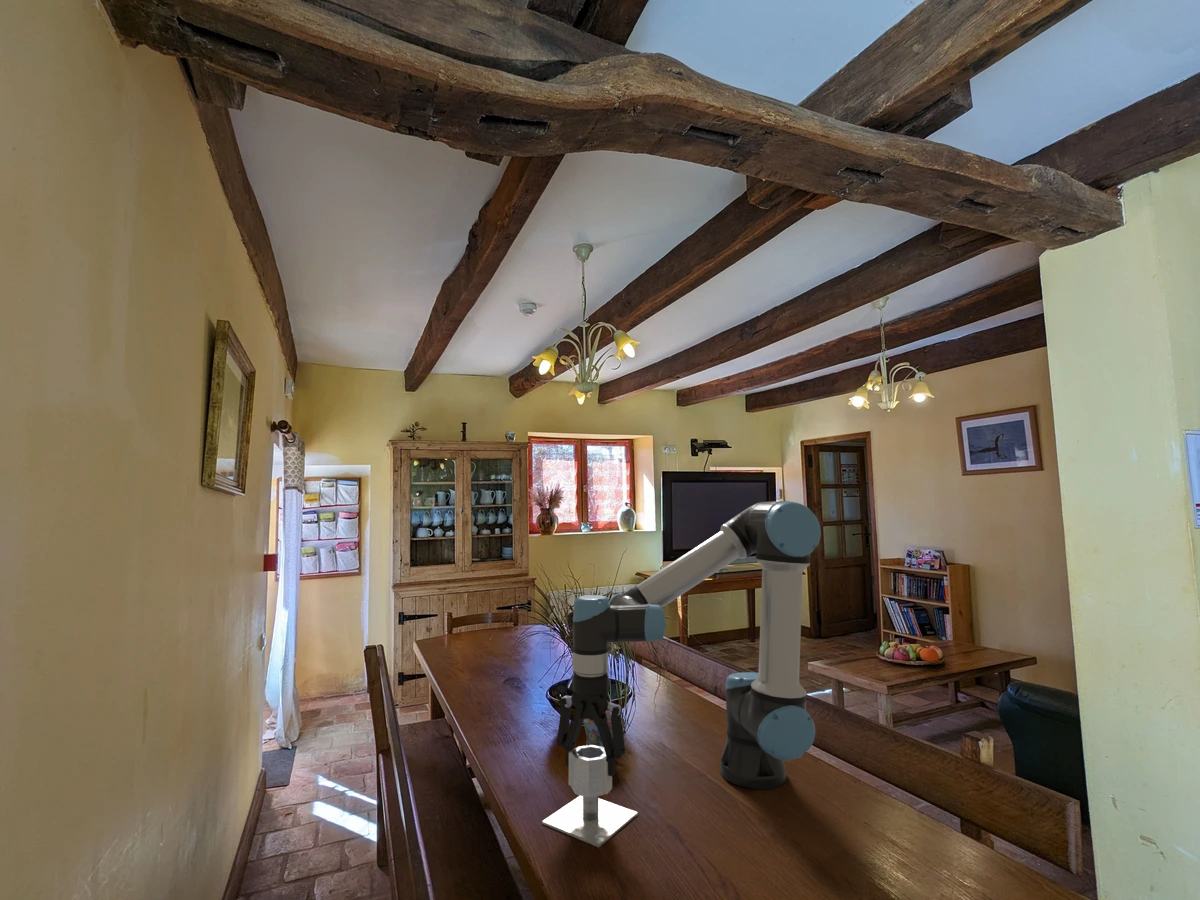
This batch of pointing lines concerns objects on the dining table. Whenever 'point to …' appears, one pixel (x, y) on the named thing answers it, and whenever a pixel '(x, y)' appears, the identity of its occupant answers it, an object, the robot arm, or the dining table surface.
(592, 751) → the grey hollow octagonal block
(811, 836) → the dining table surface
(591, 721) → the mug
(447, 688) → the dining table surface
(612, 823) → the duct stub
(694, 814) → the dining table surface
